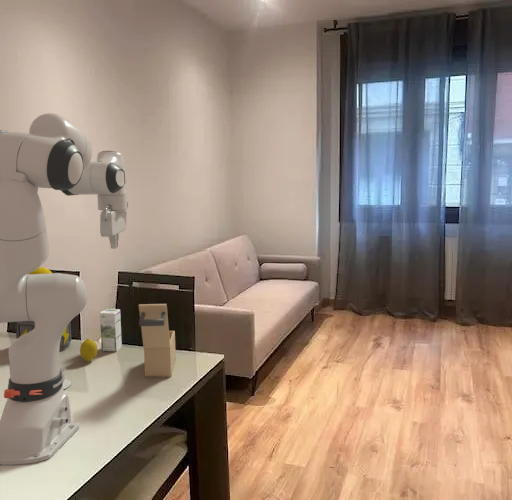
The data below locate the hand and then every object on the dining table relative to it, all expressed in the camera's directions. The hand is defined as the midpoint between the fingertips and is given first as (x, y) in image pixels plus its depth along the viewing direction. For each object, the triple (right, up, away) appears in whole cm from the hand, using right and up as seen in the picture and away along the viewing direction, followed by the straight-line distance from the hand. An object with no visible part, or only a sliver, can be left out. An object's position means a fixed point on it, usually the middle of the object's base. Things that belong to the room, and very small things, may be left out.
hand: (114, 248), depth 162 cm
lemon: (-12, -39, +11) cm, 42 cm away
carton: (+14, -39, +5) cm, 42 cm away
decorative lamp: (-33, -37, +26) cm, 56 cm away
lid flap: (+14, -23, -8) cm, 29 cm away
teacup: (-16, -42, -9) cm, 45 cm away
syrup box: (-8, -37, +24) cm, 44 cm away
